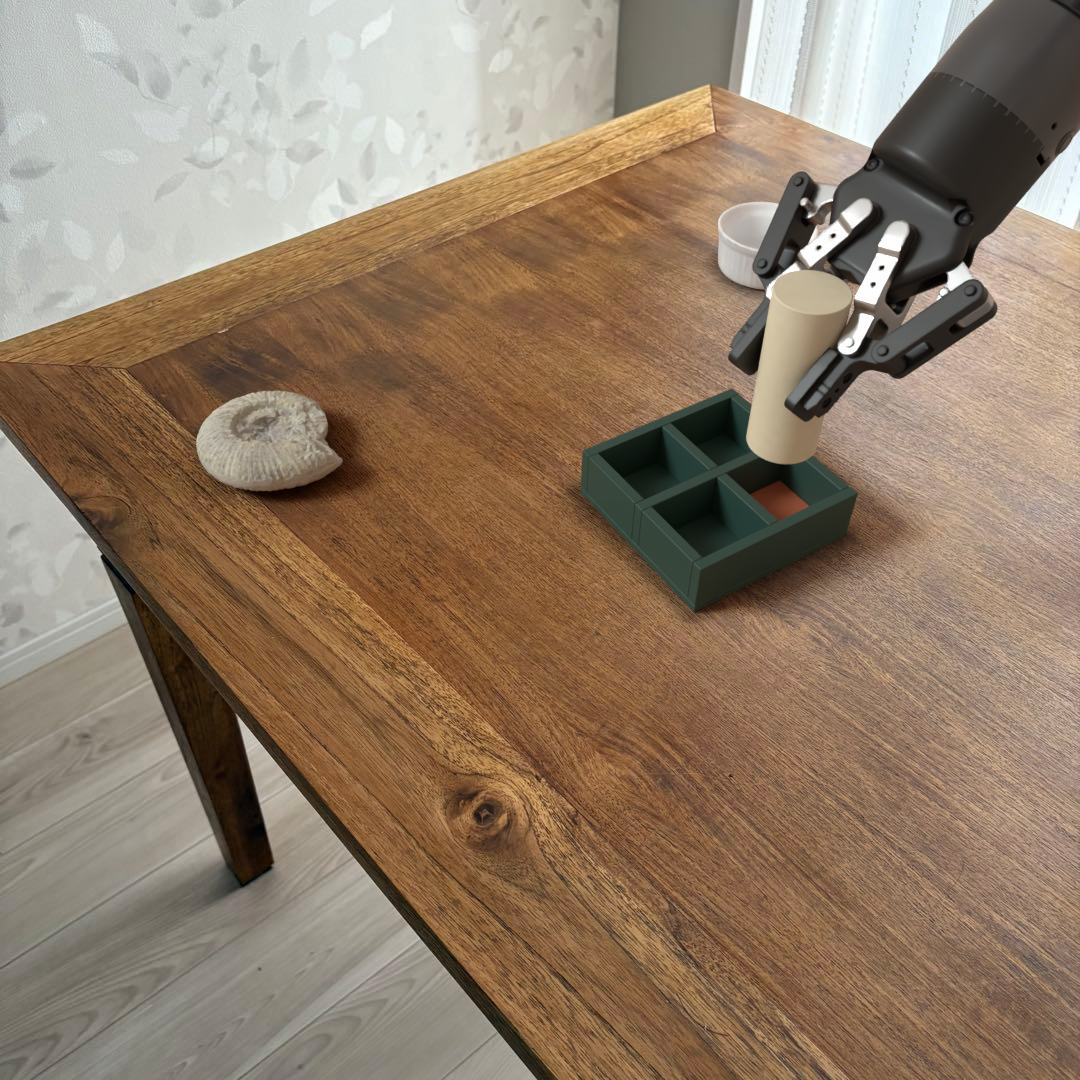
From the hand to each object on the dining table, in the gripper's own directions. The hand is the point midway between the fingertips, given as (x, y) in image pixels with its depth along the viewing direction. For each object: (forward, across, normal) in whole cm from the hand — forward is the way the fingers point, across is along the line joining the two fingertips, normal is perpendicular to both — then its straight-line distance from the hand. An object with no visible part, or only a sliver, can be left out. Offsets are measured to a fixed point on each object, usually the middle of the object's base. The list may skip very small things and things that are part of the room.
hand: (767, 389), depth 59 cm
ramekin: (-7, -31, +34) cm, 46 cm away
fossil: (+27, -30, 0) cm, 40 cm away
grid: (+10, -8, +17) cm, 21 cm away
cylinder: (+2, 0, +5) cm, 5 cm away
